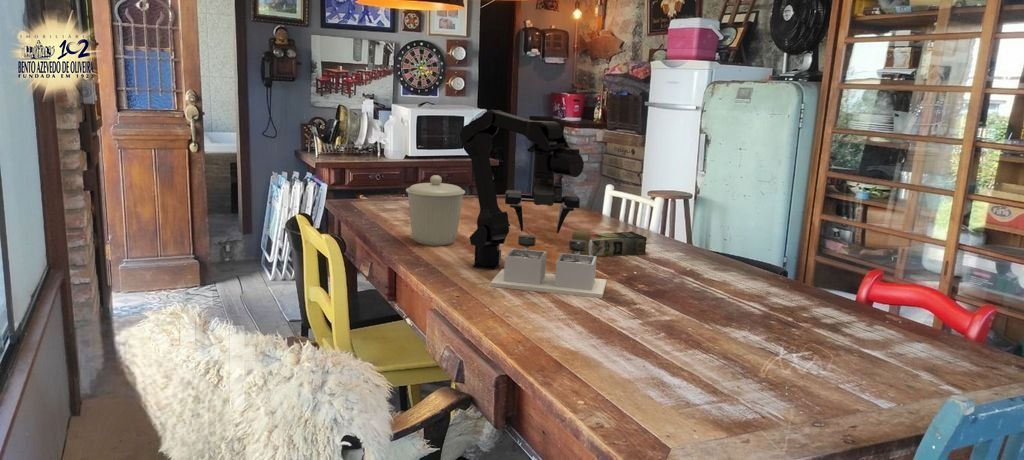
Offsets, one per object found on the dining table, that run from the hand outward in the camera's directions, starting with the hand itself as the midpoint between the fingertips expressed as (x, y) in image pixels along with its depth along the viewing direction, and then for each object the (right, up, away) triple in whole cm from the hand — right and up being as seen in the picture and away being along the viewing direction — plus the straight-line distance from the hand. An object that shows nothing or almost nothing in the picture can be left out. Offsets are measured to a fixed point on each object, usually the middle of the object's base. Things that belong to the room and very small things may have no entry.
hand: (539, 232), depth 187 cm
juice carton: (+23, -7, +39) cm, 46 cm away
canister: (-31, -4, +40) cm, 51 cm away
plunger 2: (+9, -8, -3) cm, 12 cm away
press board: (+3, -14, 0) cm, 14 cm away
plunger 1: (-4, -7, 0) cm, 8 cm away
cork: (+12, -11, +17) cm, 23 cm away
